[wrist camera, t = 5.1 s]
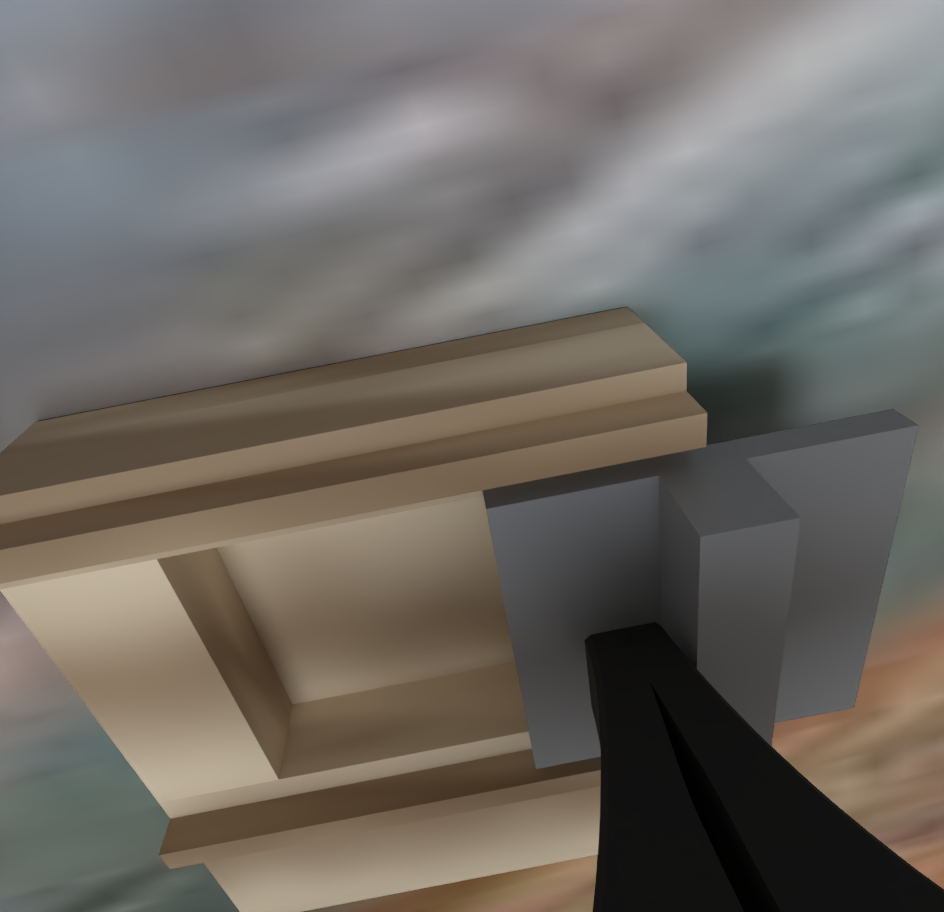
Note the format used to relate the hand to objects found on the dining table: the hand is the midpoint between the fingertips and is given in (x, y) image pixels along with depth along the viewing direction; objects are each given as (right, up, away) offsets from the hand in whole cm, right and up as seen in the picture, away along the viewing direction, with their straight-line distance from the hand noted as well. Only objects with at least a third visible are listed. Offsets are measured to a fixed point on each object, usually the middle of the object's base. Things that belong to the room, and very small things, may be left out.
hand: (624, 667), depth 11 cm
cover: (+1, +1, +1) cm, 2 cm away
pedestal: (-4, 0, +5) cm, 7 cm away
